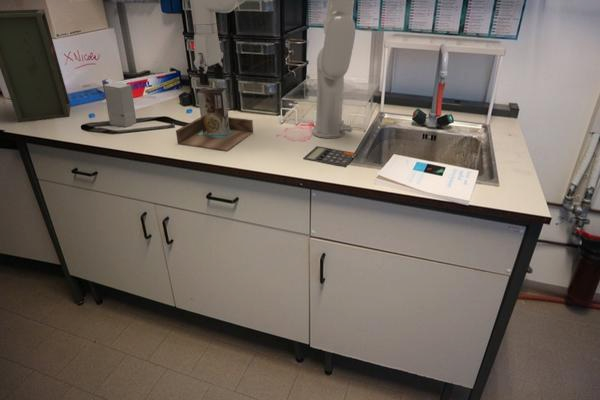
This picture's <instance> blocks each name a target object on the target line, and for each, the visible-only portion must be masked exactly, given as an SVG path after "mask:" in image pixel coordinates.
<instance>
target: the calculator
mask: <svg viewBox="0 0 600 400" xmlns="http://www.w3.org/2000/svg"><path fill="white" fill-rule="evenodd" d="M355 153H356V152H352V151H347V150H341V149H336V148H330V147H329V148H328V147H325V146H318V145H317V146H314V148H313V149H312V150H311V151H310V152H308V153H307V154H306V155H304V156H303V158H302V159H303V160H304V161H305V160H306V161H311V162H316V163H321V164H326V165H331V166H336V167H341V168H347V167H348V166H349V165H350V163H351V162H352V161H351V159H352V156H353V155H354V154H355ZM356 155H358V153H357V154H356Z"/></svg>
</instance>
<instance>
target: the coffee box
mask: <svg viewBox="0 0 600 400" xmlns="http://www.w3.org/2000/svg"><path fill="white" fill-rule="evenodd" d="M197 99H198V105H199V106H198V107H199V113H200V117H201V122H202V130H203V135H227V134H228V132H229V131H230V128H229V117H230V116H229V109H228V100H227V99H228V98H227V89H226V87H201V88H200V89H199V91H198V92H197Z"/></svg>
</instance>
